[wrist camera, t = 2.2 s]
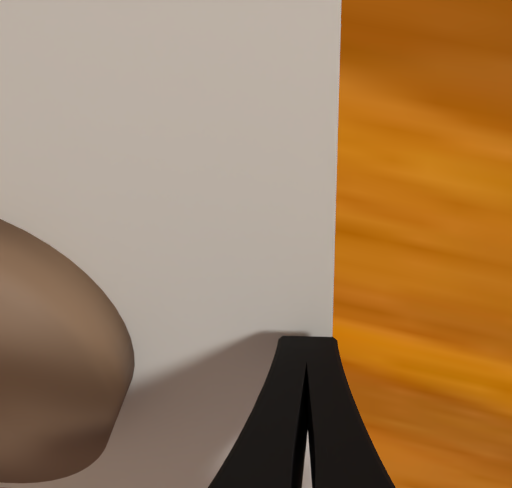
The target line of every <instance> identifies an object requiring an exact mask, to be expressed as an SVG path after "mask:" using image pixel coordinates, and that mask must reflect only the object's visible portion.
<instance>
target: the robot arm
mask: <svg viewBox="0 0 512 488" xmlns="http://www.w3.org/2000/svg"><path fill="white" fill-rule="evenodd" d="M307 433H308V439H309V452H310V466H311V479H312V488H395V486H394V484H393V482H392V481H391V479H390V477H389V475H388V473H387V471H386V469H385V467H384V465H383V464H382V462H381V460H380V458H379V456H378V454H377V451H376V449H375V447H374V445H373V443H372V441H371V439H370V437H369V435H368V432H367V430H366V428H365V426H364V423H363V421H362V419H361V416H360V414H359V411H358V409H357V406H356V404H355V401H354V399H353V396H352V394H351V391H350V388H349V385H348V382H347V379H346V376H345V373H344V370H343V366H342V363H341V359H340V355H339V350H338V344H337V340H336V339H335V338H333V337H315V336H282V337H280V338H279V339H278V344H277V348H276V352H275V355H274V358H273V361H272V364H271V367H270V370H269V372H268V375H267V377H266V380H265V382H264V385H263V387H262V389H261V391H260V394H259V396H258V398H257V400H256V403H255V405H254V407H253V409H252V411H251V413H250V415H249V417H248V419H247V421H246V423H245V425H244V427H243V429H242V431H241V433H240V434H239V436H238V438H237V440H236V442H235V444H234V446H233V447H232V449H231V451H230V453H229V454H228V456H227V458H226V459H225V461H224V463H223V464H222V466H221V468H220V469H219V471H218V472H217V474H216V476H215V477H214V479H213V480H212V482H211V483H210V485H209V486H208V488H302V480H303V470H304V461H305V452H306V442H307Z"/></svg>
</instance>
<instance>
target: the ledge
mask: <svg viewBox="0 0 512 488" xmlns="http://www.w3.org/2000/svg"><path fill="white" fill-rule="evenodd" d="M340 31H341V0H0V219H1V220H4V221H6V222H8V223H10V224H12V225H14V226H16V227H18V228H21V229H23V230H25V231H27V232H28V233H30V234H32V235H34V236H35V237H37V238H39V239H40V240H42V241H44V242H46V243H47V244H49V245H50V246H52V247H53V248H55V249H56V250H57V251H59V252H60V253H62V254H63V255H64V256H66V257H67V258H69V259H70V260H71V261H72V262H73V263H75V264H76V265H77V266H78V267H79V268H80V269H82V270H83V271H84V272H85V273H86V274H87V275H88V276H89V277H90V278H91V279H92V280H93V281H94V282H95V283H96V284H97V285H98V286H99V287H100V288H101V289H102V290H103V292H104V293H105V294H106V295H107V297H108V298H109V299H110V301H111V302H112V303H113V305H114V306H115V307H116V309H117V311H118V312H119V314H120V316H121V318H122V319H123V321H124V323H125V325H126V328H127V330H128V332H129V335H130V337H131V341H132V346H133V350H134V362H135V367H134V373H133V378H132V381H131V384H130V386H129V389H128V391H127V394H126V396H125V399H124V402H123V404H122V407H121V409H120V412H119V415H118V417H117V420H116V422H115V425H114V428H113V430H112V433H111V435H110V438H109V440H108V443H107V445H106V448H105V450H104V451H103V453H102V454H101V455H100V457H99V458H98V459H97V460H96V461H95V462H94V463H92V464H91V465H90V466H89V467H87V468H85V469H84V470H82V471H80V472H78V473H76V474H73V475H71V476H68V477H65V478H61V479H57V480H53V481H46V482H38V483H1V482H0V487H1V488H208V486H209V485H210V483H211V482H212V480H213V479H214V477H215V476H216V474H217V472H218V471H219V469H220V468H221V466H222V464H223V463H224V461H225V459H226V458H227V456H228V454H229V453H230V451H231V449H232V447H233V446H234V444H235V442H236V440H237V438H238V436H239V434H240V433H241V431H242V429H243V427H244V425H245V423H246V421H247V419H248V417H249V415H250V413H251V411H252V409H253V407H254V405H255V403H256V400H257V398H258V396H259V394H260V391H261V389H262V387H263V385H264V382H265V380H266V377H267V375H268V372H269V370H270V367H271V364H272V361H273V358H274V355H275V352H276V348H277V344H278V339H279V338H280V337H282V336H315V337H332V325H333V289H334V252H335V215H336V178H337V142H338V105H339V68H340ZM302 488H312V479H311V466H310V452H309V439H308V433H307V442H306V452H305V461H304V470H303V480H302Z"/></svg>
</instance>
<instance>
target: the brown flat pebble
mask: <svg viewBox="0 0 512 488" xmlns="http://www.w3.org/2000/svg"><path fill="white" fill-rule="evenodd" d="M134 367H135V362H134V350H133V346H132V341H131V337H130V335H129V332H128V330H127V328H126V325H125V323H124V321H123V319H122V318H121V316H120V314H119V312H118V311H117V309H116V307H115V306H114V305H113V303H112V302H111V301H110V299H109V298H108V297H107V295H106V294H105V293H104V292H103V290H102V289H101V288H100V287H99V286H98V285H97V284H96V283H95V282H94V281H93V280H92V279H91V278H90V277H89V276H88V275H87V274H86V273H85V272H84V271H83V270H82V269H80V268H79V267H78V266H77V265H76V264H75V263H73V262H72V261H71V260H70V259H69V258H67V257H66V256H64V255H63V254H62V253H60V252H59V251H57V250H56V249H55V248H53V247H52V246H50V245H49V244H47V243H46V242H44V241H42V240H40V239H39V238H37V237H35V236H34V235H32V234H30V233H28V232H27V231H25V230H23V229H21V228H18V227H16V226H14V225H12V224H10V223H8V222H6V221H4V220H1V219H0V482H1V483H38V482H46V481H53V480H57V479H61V478H65V477H68V476H71V475H73V474H76V473H78V472H80V471H82V470H84V469H85V468H87V467H89V466H90V465H91V464H92V463H94V462H95V461H96V460H97V459H98V458H99V457H100V455H101V454H102V453H103V451H104V450H105V448H106V445H107V443H108V440H109V438H110V435H111V433H112V430H113V428H114V425H115V422H116V420H117V417H118V415H119V412H120V409H121V407H122V404H123V402H124V399H125V396H126V394H127V391H128V389H129V386H130V384H131V381H132V378H133V373H134Z"/></svg>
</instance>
